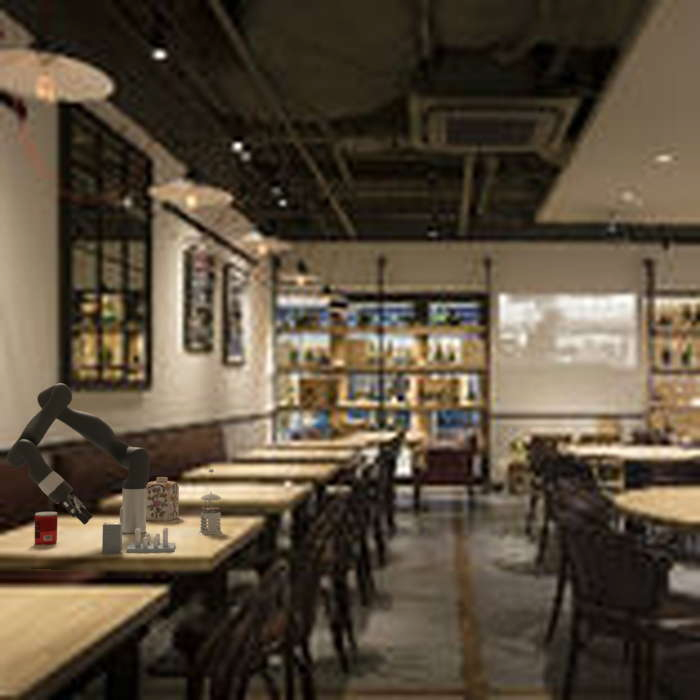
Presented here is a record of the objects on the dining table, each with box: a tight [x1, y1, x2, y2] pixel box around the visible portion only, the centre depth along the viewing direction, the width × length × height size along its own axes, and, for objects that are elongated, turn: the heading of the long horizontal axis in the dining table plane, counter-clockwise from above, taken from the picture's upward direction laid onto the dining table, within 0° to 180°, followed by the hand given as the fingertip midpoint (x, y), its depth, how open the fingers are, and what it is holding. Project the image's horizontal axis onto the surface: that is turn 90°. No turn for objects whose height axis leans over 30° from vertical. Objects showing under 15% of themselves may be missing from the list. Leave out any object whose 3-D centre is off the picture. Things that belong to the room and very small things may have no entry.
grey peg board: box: [126, 526, 176, 553], centre depth 338 cm, size 16×12×7 cm
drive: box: [101, 522, 123, 555], centre depth 330 cm, size 6×5×10 cm
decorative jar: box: [146, 476, 180, 522], centre depth 412 cm, size 12×12×18 cm
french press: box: [198, 468, 224, 535], centre depth 376 cm, size 10×12×25 cm
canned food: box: [34, 511, 58, 546], centre depth 348 cm, size 8×8×11 cm
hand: (88, 520), depth 329 cm, fingers open, 8 cm apart
